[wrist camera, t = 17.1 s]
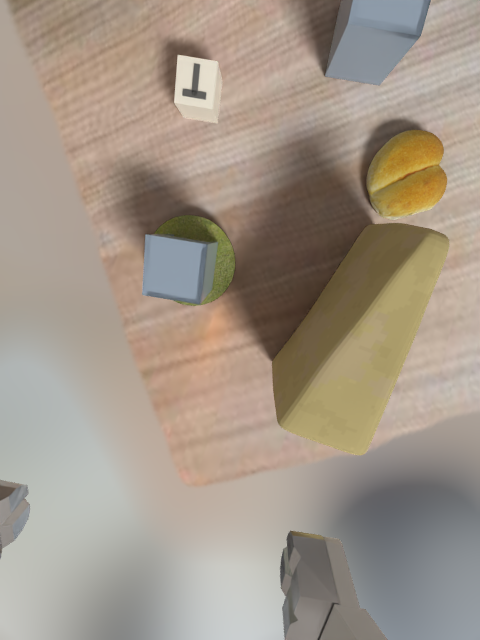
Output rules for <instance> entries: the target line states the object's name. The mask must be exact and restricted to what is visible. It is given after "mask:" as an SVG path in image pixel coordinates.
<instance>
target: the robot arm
mask: <svg viewBox="0 0 480 640" xmlns="http://www.w3.org/2000/svg"><path fill="white" fill-rule="evenodd" d="M27 495H28V487H27V485H23V484H18V483H13V482H7V481H3V480H0V558H1V553H2V548H4V547H5V546H7V545H8V544H10V543H11V542H13V541H14V540H15V539H16V538H17V537H18V535H19V534H20V533H21V531H22V530H23V528H24V526H25V524H26V522H27V520H28V517H29V513H30V504H29V503H28V502H27V501H26V499H25V497H26V496H27ZM280 579H281V589H282V591H283V592H284V594H285V596H286V598H285V601H284V604H283V607H282V610H283V624H284V637H285V640H387V638H386V637H385V635H384V634H383V633H382V631H381V630H380V629H379V627H378V626H377V625H376V623H375V622H374V620H373V619H372V618H371V616H370V615H369V613H368V612H367V611H366V610H365V609H361V608H360V606H359V602H358V599H357V595H356V591H355V588H354V584H353V581H352V577H351V574H350V570H349V566H348V563H347V560H346V556H345V552H344V549H343V545H342V543H341V541H340V540H339V539H336V538H330V537H323V536H321V535H315V534H308V533H302V532H295V531H290V532H289V533H288V536H287V547H286V548H284V549H283V553H282V557H281V566H280Z"/></svg>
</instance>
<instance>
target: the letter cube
mask: <svg viewBox="0 0 480 640" xmlns="http://www.w3.org/2000/svg"><path fill="white" fill-rule="evenodd" d="M221 91H222V77H221V73H220V68H219V64H218V61H212V60H206V59H200V58H194V57H188V56H183V55H178V58H177V71H176V84H175V98H174V103H175V105H176V106H177V108H178V110H179V111H180V113H181V114H182V116H183V118H188V119H194V120H200V121H206V122H212V123H218V116H219V108H220V99H221Z"/></svg>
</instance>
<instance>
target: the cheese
mask: <svg viewBox="0 0 480 640" xmlns="http://www.w3.org/2000/svg"><path fill="white" fill-rule="evenodd" d="M448 249H449V239H448V237H447V236H445V235H444V234H442V233H439V232H437V231H434V230H432V229H429V228H423V227H418V226H413V225H409V224H402V223H387V224H371V225H368V226H366V227H365V228H364V229H363V231H362V232H361V233H360V235H359V236H358V238H357V240H356V241H355V243H354V244H353V246H352V247H351V249H350V250H349V252H348V253H347V255H346V256H345V258H344V259H343V261H342V262H341V264H340V265H339V267H338V269H337V270H336V272H335V273H334V275H333V276H332V278H331V279H330V281H329V282H328V284H327V285H326V287H325V288H324V290H323V292H322V293H321V295H320V296H319V298H318V299H317V301H316V302H315V304H314V305H313V307H312V308H311V310H310V311H309V312H308V314H307V315H306V317H305V318H304V320H303V321H302V322H301V324H300V325H299V327H298V328H297V329H296V331H295V332H294V333H293V335H292V336H291V337H290V339H289V340H288V341H287V343H286V344H285V345H284V347H283V348H282V349H281V350H280V352H279V353H278V354H277V355H276V357H275V358H274V360H273V361H272V373H273V391H274V400H275V407H276V415H277V421H278V423H279V425H280V426H281V427H282V428H283V429H285V430H287V431H289V432H291V433H293V434H296V435H299V436H301V437H304V438H307V439H310V440H313V441H316V442H318V443H321V444H324V445H327V446H330V447H333V448H335V449H338V450H341V451H344V452H347V453H351V454H355V455H363V454H365V453H366V452H367V450H368V448H369V446H370V444H371V441H372V439H373V436H374V434H375V431H376V429H377V426H378V424H379V422H380V419H381V417H382V415H383V412H384V410H385V407H386V405H387V403H388V400H389V398H390V396H391V393H392V391H393V389H394V386H395V384H396V381H397V379H398V376H399V374H400V372H401V369H402V367H403V364H404V362H405V359H406V357H407V355H408V352H409V350H410V347H411V345H412V343H413V340H414V338H415V335H416V333H417V330H418V328H419V325H420V323H421V320H422V317H423V315H424V312H425V310H426V307H427V304H428V302H429V299H430V297H431V294H432V292H433V289H434V287H435V284H436V282H437V280H438V277H439V275H440V272H441V270H442V267H443V264H444V262H445V259H446V256H447V253H448Z"/></svg>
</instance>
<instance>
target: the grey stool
mask: <svg viewBox="0 0 480 640" xmlns="http://www.w3.org/2000/svg"><path fill="white" fill-rule="evenodd" d="M217 248H218V242H216V241H213V242H206V241H200V240H194V239H188V238H182V237H176V236H174V234H146V235H145V254H144V273H143V292H142V295H146V296H152V297H158V298H164V299H170V300H175V301H181V302H187V303H193V304H199V305H200V304H201V303H202V302H203V301H204V299H205V298H206V297H207V295H208V294H209V293H210V292H211V290H212V286H213V278H214V271H215V263H216V255H217Z"/></svg>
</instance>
